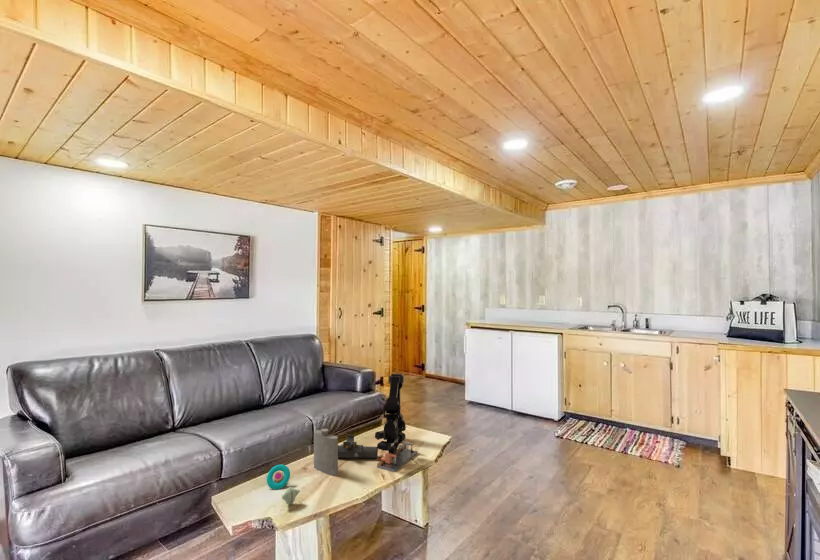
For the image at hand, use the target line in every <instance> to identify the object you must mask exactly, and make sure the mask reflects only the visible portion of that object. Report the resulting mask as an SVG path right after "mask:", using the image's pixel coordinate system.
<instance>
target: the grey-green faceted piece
mask: <svg viewBox="0 0 820 560" xmlns="http://www.w3.org/2000/svg"><path fill="white" fill-rule="evenodd" d="M300 493H301V490H300V489H298V488H293V487H291V486H289V487H288V488H286V490H285V491H284V493H283V494H281V499H282V500H284V501H285V503H286V504H287V505H289V506H291V505H292V504H293V503H294V502H295V501H296V498H297V496H298V495H299V494H300Z"/></svg>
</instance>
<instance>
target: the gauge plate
mask: <svg viewBox="0 0 820 560" xmlns="http://www.w3.org/2000/svg"><path fill="white" fill-rule="evenodd" d="M413 445H414V443H413V442H409V441H406V440H403V441H402V442H401V444H399V446H398V448H397V450H396V452H395V454H394V455H396V464H394V457H393V458H392V462H391V463H390V464H388V463H385V461H383V460H381V459H380V461H378V463H377V464H376V467H377V468H378V469H381V470H385V471H389V472H393V473H395V472H397V471H398V470H399V469H400V468H402V467H404V465H406V464H407V463H408V462H410V460H412V459H413V458H414V457H415V456H417V455H418V454H419V453H418V451H417V450H413ZM409 446H410V449H409Z"/></svg>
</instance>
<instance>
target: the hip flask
mask: <svg viewBox="0 0 820 560" xmlns="http://www.w3.org/2000/svg"><path fill="white" fill-rule="evenodd" d="M338 445H339V437H338V436H336V435H332V434H330V433H329V428H322V429H316V430H314V431H313V468H314V469H316V470H317V471H318V472H321V473H323V474H325V475H328V476H333V477H334V476H335V477H336V476H337V475H339V473H338V472H339V470H338V469H339V462H338V461H339V457H338Z"/></svg>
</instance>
